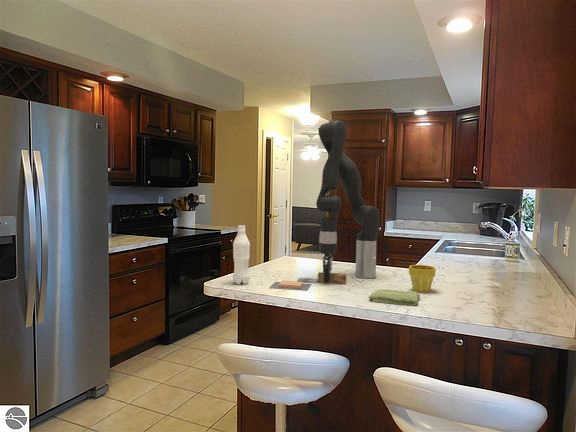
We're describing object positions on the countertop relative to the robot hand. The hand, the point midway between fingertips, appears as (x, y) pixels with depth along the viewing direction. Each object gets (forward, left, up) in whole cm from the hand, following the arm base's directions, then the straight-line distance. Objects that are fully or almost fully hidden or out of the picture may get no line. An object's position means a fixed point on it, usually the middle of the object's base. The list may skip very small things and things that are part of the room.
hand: (327, 280), depth 183 cm
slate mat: (+14, +11, -1) cm, 18 cm away
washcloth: (-27, +20, -2) cm, 34 cm away
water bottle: (+36, +9, -1) cm, 37 cm away
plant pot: (-39, +2, -1) cm, 39 cm away
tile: (+9, +11, 0) cm, 14 cm away
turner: (+2, 0, -1) cm, 3 cm away
